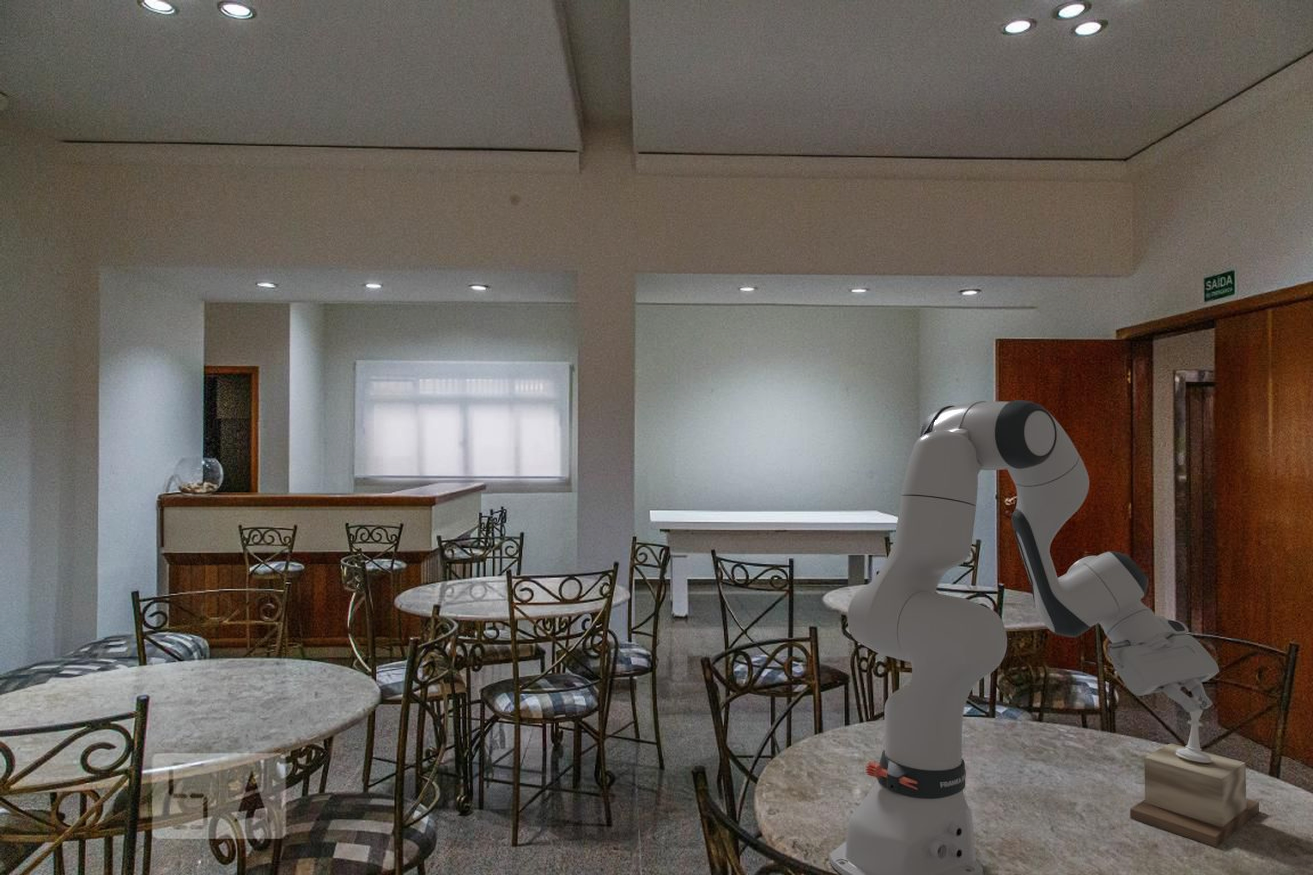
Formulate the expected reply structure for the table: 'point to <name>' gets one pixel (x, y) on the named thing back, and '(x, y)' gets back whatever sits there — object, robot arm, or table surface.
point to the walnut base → (1194, 796)
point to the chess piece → (1194, 740)
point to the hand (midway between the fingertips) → (1201, 708)
